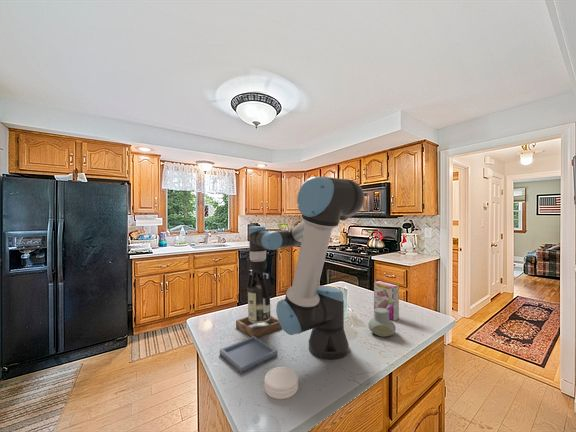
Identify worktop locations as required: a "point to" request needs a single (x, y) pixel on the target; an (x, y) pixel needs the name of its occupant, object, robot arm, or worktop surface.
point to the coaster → (281, 383)
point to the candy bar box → (387, 298)
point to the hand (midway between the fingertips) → (259, 309)
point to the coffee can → (256, 305)
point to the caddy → (259, 332)
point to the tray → (248, 354)
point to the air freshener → (381, 323)
